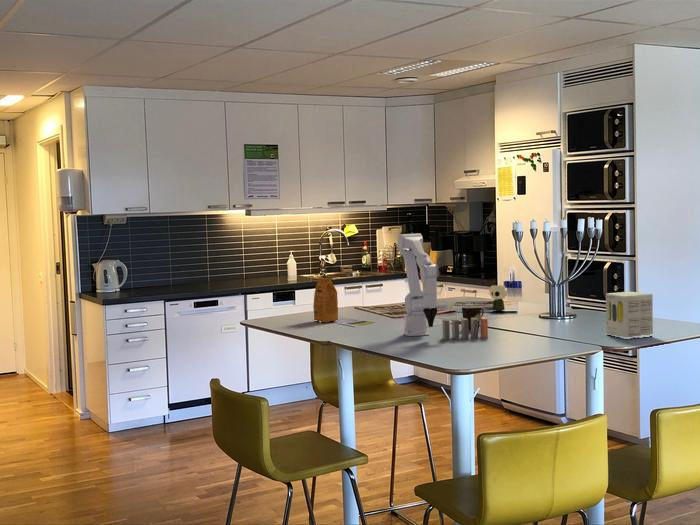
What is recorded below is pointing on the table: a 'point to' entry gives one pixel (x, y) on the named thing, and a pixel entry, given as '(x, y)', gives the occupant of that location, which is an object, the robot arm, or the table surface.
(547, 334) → the table surface
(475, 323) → the domino
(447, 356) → the table surface
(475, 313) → the coffee mug
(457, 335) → the domino
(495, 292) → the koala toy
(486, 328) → the red domino
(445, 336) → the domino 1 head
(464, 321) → the domino
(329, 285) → the coffee package
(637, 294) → the supplement box
